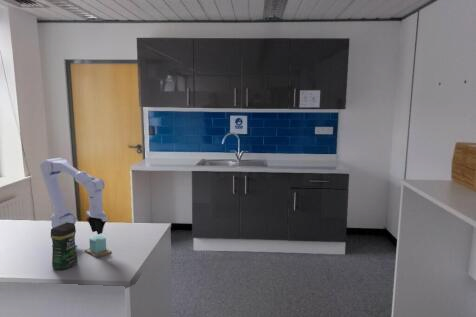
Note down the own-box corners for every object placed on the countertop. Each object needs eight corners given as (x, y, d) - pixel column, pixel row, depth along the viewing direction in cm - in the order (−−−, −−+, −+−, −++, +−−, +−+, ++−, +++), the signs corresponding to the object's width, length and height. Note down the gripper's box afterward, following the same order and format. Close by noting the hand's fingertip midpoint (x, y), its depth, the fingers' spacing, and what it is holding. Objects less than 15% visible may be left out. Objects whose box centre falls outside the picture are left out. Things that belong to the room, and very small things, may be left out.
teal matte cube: (90, 250, 155) (89, 238, 154) (100, 247, 159) (99, 235, 158) (96, 253, 152) (95, 241, 151) (106, 249, 156) (105, 238, 155)
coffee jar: (63, 272, 136) (61, 229, 134) (48, 269, 139) (46, 227, 136) (81, 262, 146) (78, 222, 143) (66, 259, 148) (64, 220, 145)
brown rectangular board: (84, 251, 156) (84, 241, 155) (98, 247, 162) (98, 237, 161) (97, 258, 150) (97, 247, 149) (111, 252, 155) (111, 242, 154)
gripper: (112, 205, 151) (113, 233, 153) (95, 200, 160) (96, 226, 162) (98, 209, 146) (99, 238, 147) (81, 203, 154) (82, 230, 156)
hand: (97, 232), depth 154 cm, fingers open, 4 cm apart
